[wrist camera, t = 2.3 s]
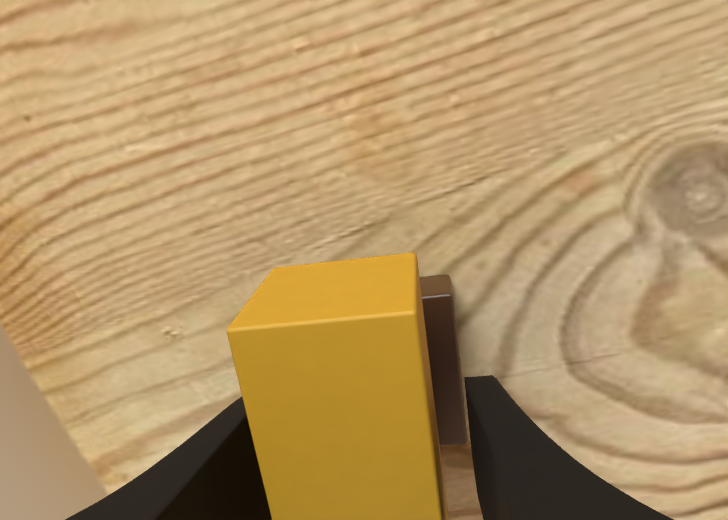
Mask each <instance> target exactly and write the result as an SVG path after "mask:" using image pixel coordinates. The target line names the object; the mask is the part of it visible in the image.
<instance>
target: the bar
mask: <svg viewBox="0 0 728 520" xmlns="http://www.w3.org/2000/svg"><path fill="white" fill-rule="evenodd" d="M227 335H228V339H229V343H230V347H231V351H232V356H233V360H234V364H235V368H236V372H237V376H238V380H239V385H240V389H241V393H242V397H243V401H244V405H245V409H246V414H247V418H248V422H249V426H250V430H251V434H252V438H253V443H254V447H255V451H256V455H257V459H258V463H259V467H260V472H261V476H262V480H263V484H264V488H265V492H266V496H267V501H268V505H269V509H270V513H271V517H272V520H448V513H447V504H446V496H445V488H444V479H443V471H442V463H441V454H440V446H439V438H438V429H437V421H436V412H435V404H434V396H433V387H432V379H431V371H430V362H429V354H428V346H427V337H426V329H425V321H424V312H423V304H422V296H421V287H420V279H419V270H418V262H417V255H416V254H415V253H404V254H395V255H386V256H377V257H368V258H359V259H350V260H341V261H332V262H323V263H314V264H305V265H296V266H287V267H278V268H274V269H272V271H271V272H270V273H269V275H268V276H267V277H266V279H265V280H264V281H263V283H262V284H261V285H260V286H259V288H258V289H257V290H256V292H255V293H254V294H253V296H252V297H251V298H250V300H249V301H248V302H247V303H246V305H245V306H244V307H243V309H242V310H241V311H240V313H239V314H238V315H237V317H236V318H235V319H234V320H233V322H232V323H231V324H230V326H229V327H228V328H227Z"/></svg>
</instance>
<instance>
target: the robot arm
mask: <svg viewBox="0 0 728 520" xmlns="http://www.w3.org/2000/svg"><path fill="white" fill-rule="evenodd" d="M464 379H465V389H466V399H467V409H468V419H469V429H470V439H471V450H472V458H473V465H474V473H475V480H476V487H477V494H478V499H479V503H480V507H481V511H482V515H483V519H484V520H673V519H671V518H669V517H667V516H665V515H663V514H661V513H659V512H657V511H655V510H654V509H652V508H650V507H648V506H646V505H644V504H642V503H641V502H639V501H637V500H635V499H634V498H632V497H630V496H629V495H627V494H625V493H624V492H622V491H620V490H619V489H617V488H615V487H614V486H612V485H611V484H609V483H607V482H606V481H604V480H603V479H601V478H600V477H598V476H597V475H595V474H594V473H593V472H591V471H590V470H588V469H587V468H586V467H584V466H583V465H582V464H580V463H579V462H578V461H576V460H575V459H574V458H573V457H571V456H570V455H569V454H568V453H566V452H565V451H564V450H563V449H562V448H561V447H560V446H558V445H557V444H556V443H555V442H554V441H553V440H552V439H551V438H549V437H548V436H547V435H546V434H545V433H544V432H543V431H542V430H541V429H540V428H539V427H538V426H537V425H536V424H535V423H534V422H533V421H532V420H531V419H530V418H529V417H528V416H527V415H526V414H525V413H524V412H523V410H522V409H521V408H520V407H519V406H518V405H517V404H516V403H515V401H514V400H513V399H512V398H511V397H510V396H509V394H508V393H507V392H506V391H505V389H504V388H503V387H502V385H501V384H500V383H499V381H498V380H497V379H496V378H495V377H494V376H492V375H490V376H477V377H465V378H464ZM66 520H272V517H271V513H270V509H269V505H268V501H267V496H266V492H265V488H264V484H263V480H262V476H261V472H260V467H259V463H258V459H257V455H256V451H255V447H254V443H253V438H252V434H251V430H250V426H249V422H248V418H247V414H246V409H245V405H244V401H243V397H241V398H239V399H238V400H236V401H235V402H234V403H232V404H231V405H230V406H228V407H227V408H226V409H225V410H223V411H222V412H221V413H220V414H219V415H217V416H216V417H215V418H214V419H212V420H211V421H210V422H209V423H208V424H206V425H205V426H204V427H203V428H201V429H200V430H199V431H198V432H196V433H195V434H194V435H193V436H192V437H190V438H189V439H188V440H187V441H185V442H184V443H183V444H182V445H180V446H179V447H177V448H176V449H175V450H173V451H172V452H171V453H169V454H168V455H167V456H165V457H164V458H163V459H161V460H160V461H159V462H157V463H156V464H155V465H153V466H152V467H151V468H149V469H148V470H147V471H145V472H144V473H142V474H141V475H139V476H138V477H136V478H135V479H133V480H132V481H130V482H129V483H127V484H126V485H124V486H123V487H121V488H120V489H118V490H116V491H115V492H113V493H112V494H110V495H108V496H107V497H105V498H104V499H102V500H100V501H99V502H97V503H95V504H93V505H91V506H89V507H88V508H86V509H84V510H82V511H80V512H78V513H77V514H75V515H73V516H71V517H69V518H67V519H66Z"/></svg>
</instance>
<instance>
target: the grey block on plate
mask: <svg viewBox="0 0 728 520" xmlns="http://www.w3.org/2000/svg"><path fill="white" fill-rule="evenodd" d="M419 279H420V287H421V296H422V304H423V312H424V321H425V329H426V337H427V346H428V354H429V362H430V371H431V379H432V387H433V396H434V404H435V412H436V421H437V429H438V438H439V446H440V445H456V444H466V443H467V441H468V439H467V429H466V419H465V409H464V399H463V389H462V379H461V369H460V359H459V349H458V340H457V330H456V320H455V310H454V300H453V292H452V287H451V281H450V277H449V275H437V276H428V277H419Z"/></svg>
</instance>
